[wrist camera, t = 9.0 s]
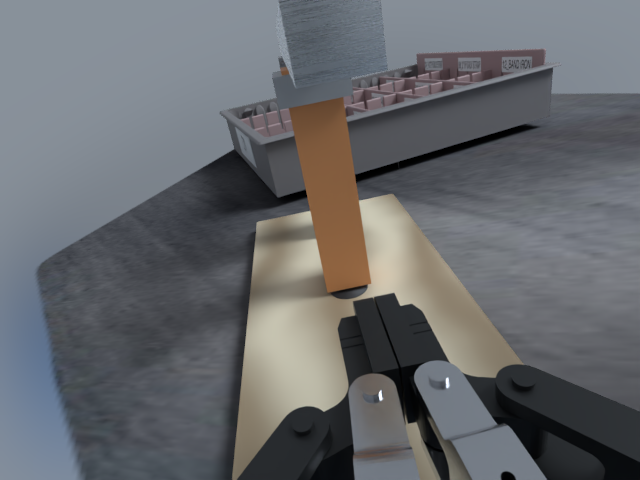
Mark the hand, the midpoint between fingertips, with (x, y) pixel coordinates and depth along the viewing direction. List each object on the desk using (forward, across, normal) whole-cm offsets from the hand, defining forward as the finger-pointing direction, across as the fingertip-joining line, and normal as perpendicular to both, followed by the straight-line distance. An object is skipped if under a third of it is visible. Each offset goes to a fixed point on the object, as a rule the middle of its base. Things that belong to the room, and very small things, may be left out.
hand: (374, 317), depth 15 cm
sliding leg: (+13, 0, +6) cm, 14 cm away
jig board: (+12, 0, +8) cm, 14 cm away
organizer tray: (+52, -10, +8) cm, 53 cm away
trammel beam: (+13, 0, +6) cm, 14 cm away
